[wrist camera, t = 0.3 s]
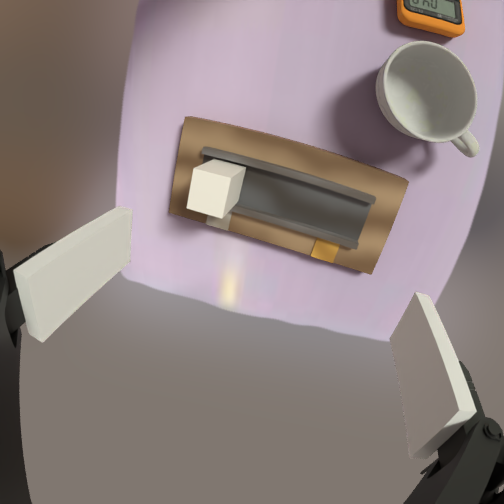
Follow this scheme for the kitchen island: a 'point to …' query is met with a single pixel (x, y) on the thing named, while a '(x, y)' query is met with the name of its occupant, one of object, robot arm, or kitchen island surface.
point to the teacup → (429, 95)
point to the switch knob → (215, 187)
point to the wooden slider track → (293, 193)
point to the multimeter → (433, 16)
